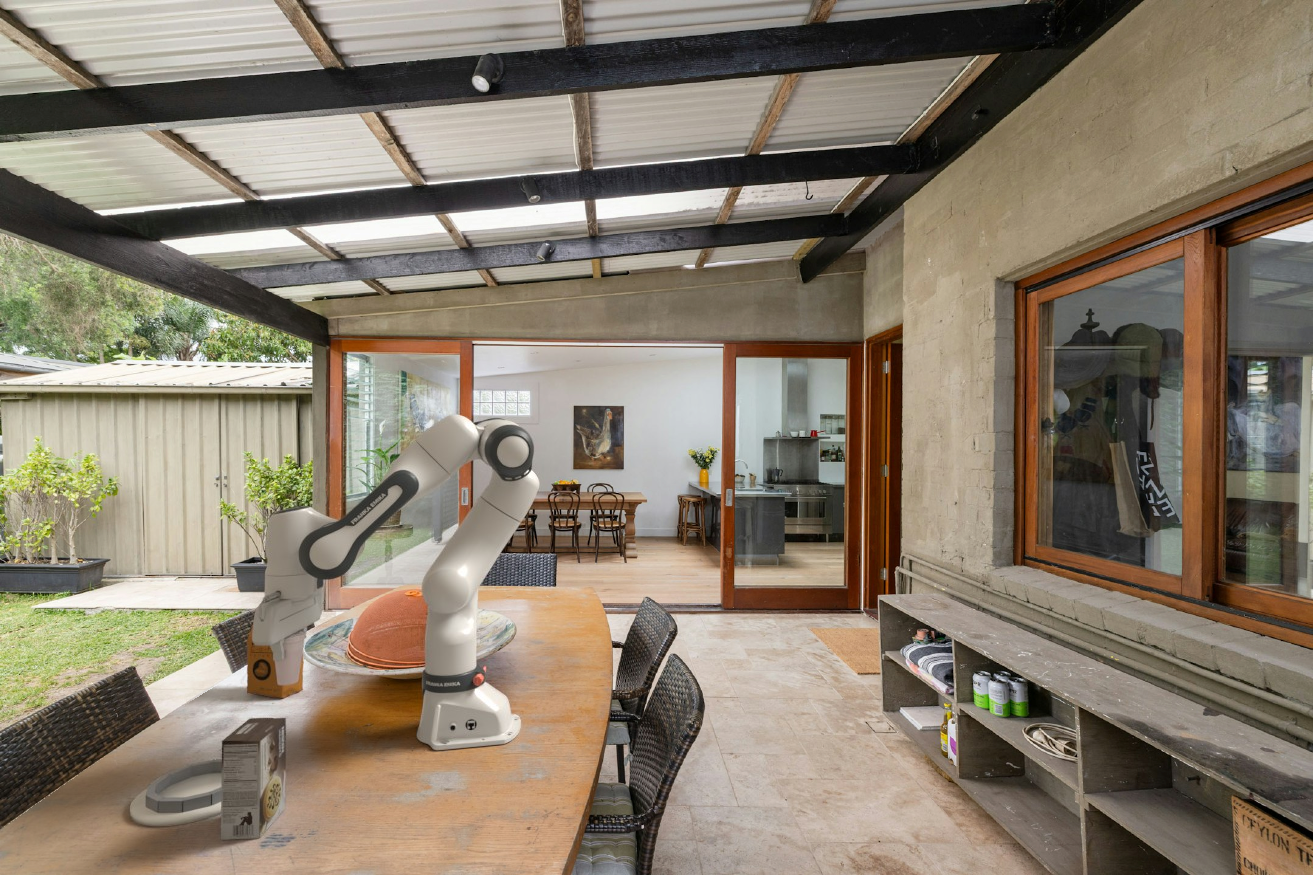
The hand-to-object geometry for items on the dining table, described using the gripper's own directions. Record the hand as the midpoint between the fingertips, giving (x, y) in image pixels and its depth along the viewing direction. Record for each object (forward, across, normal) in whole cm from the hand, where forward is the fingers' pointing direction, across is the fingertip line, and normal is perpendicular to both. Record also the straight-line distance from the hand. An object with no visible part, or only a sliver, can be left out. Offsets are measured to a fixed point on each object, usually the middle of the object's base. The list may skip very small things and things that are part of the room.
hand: (288, 654), depth 133 cm
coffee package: (+22, +38, +23) cm, 50 cm away
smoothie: (+6, 0, 0) cm, 6 cm away
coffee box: (+22, -22, -6) cm, 32 cm away
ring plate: (+22, -13, +9) cm, 27 cm away
